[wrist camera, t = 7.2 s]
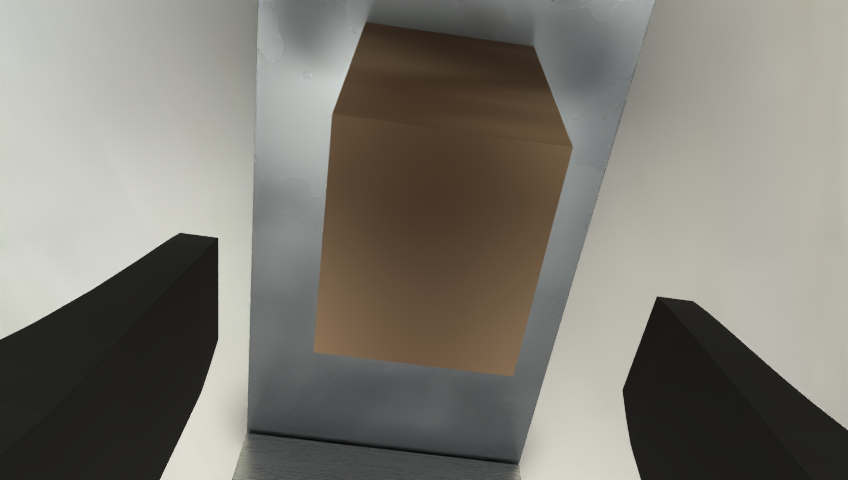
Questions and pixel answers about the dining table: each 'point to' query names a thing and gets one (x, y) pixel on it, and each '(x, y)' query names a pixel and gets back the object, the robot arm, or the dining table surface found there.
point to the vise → (305, 205)
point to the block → (438, 200)
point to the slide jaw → (354, 463)
